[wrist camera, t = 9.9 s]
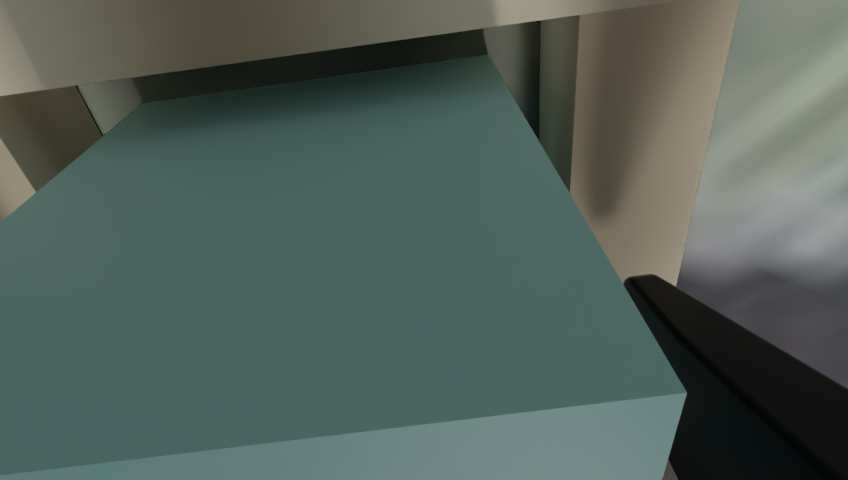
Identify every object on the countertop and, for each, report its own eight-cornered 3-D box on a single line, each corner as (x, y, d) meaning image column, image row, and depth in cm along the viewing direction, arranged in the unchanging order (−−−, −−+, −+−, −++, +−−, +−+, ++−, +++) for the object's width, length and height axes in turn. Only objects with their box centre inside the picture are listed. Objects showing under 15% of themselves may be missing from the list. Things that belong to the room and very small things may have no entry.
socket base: (693, -197, 7) (827, -238, 5) (605, 408, 14) (641, 495, 12) (-244, -55, 7) (-509, -34, 5) (156, 461, 14) (116, 554, 12)
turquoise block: (487, 53, 8) (685, 391, 3) (500, 310, 12) (599, 699, 6) (143, 102, 9) (-353, 519, 3) (254, 341, 12) (128, 747, 6)
